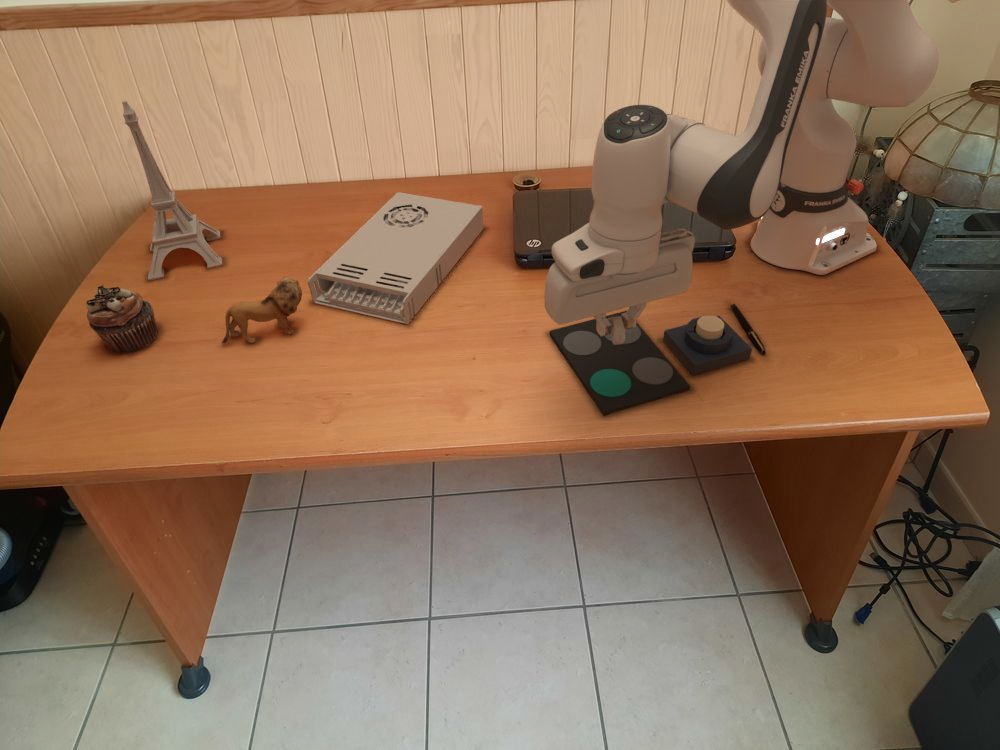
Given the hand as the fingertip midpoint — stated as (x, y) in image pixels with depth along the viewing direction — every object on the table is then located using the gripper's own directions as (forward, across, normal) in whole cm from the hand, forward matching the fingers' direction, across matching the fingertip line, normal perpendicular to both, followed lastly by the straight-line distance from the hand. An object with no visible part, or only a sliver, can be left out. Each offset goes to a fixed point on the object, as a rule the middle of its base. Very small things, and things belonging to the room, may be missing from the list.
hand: (615, 329), depth 96 cm
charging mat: (+11, -4, -5) cm, 13 cm away
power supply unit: (+11, +20, -45) cm, 51 cm away
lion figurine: (+11, +46, -34) cm, 59 cm away
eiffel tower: (+11, +60, -65) cm, 89 cm away
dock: (+11, -18, -2) cm, 21 cm away
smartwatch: (+2, 0, 0) cm, 2 cm away
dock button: (+7, -17, -2) cm, 19 cm away
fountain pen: (+11, -26, -4) cm, 29 cm away
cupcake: (+11, +68, -41) cm, 81 cm away
